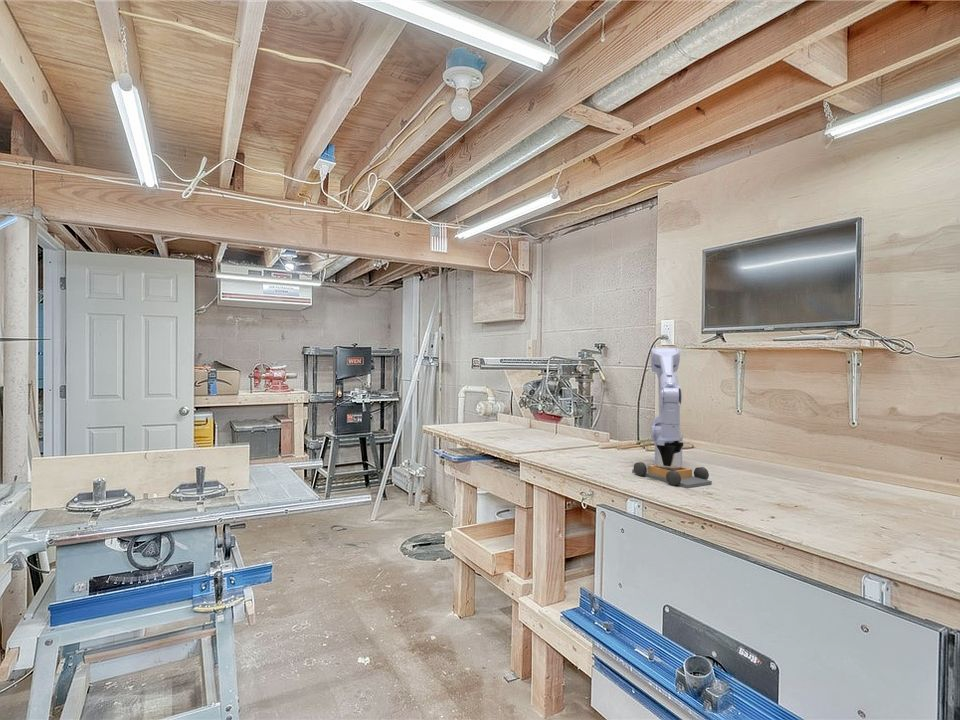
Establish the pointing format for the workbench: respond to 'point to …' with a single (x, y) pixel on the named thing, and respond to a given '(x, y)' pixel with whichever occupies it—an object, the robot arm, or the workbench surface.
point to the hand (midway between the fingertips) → (670, 464)
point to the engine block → (674, 463)
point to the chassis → (674, 475)
